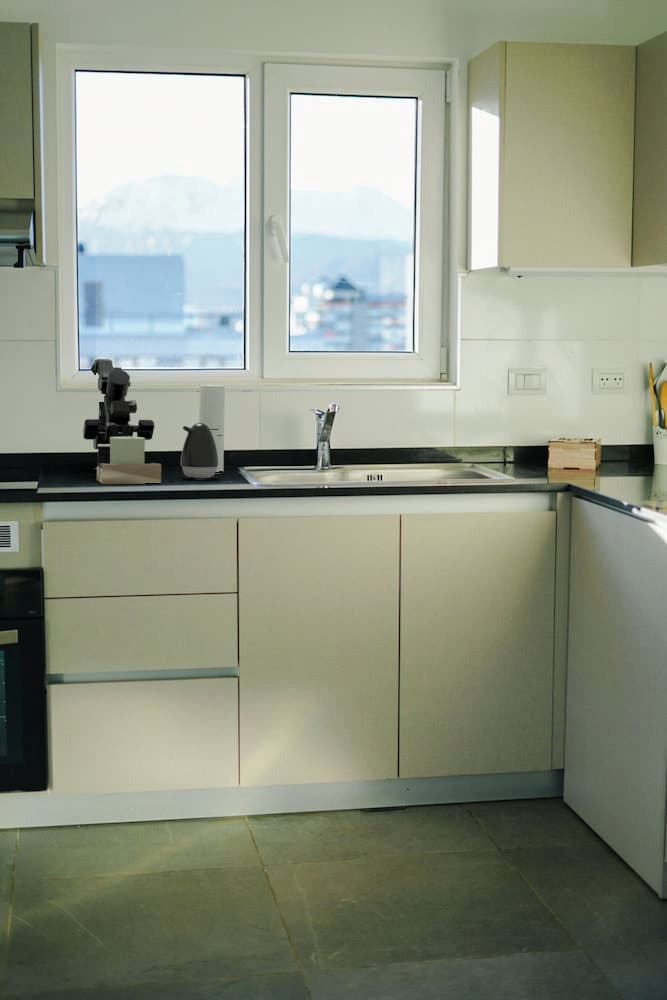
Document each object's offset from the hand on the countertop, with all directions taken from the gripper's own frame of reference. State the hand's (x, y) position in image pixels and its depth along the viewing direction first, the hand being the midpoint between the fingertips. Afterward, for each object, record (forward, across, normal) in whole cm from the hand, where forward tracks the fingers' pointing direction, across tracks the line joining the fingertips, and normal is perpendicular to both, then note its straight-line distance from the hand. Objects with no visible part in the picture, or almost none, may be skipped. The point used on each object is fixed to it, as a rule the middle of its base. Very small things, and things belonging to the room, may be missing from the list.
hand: (122, 453), depth 329 cm
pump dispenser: (+7, +20, +3) cm, 22 cm away
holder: (+13, 0, -3) cm, 13 cm away
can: (+12, 0, -2) cm, 12 cm away
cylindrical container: (-6, +28, +16) cm, 33 cm away
